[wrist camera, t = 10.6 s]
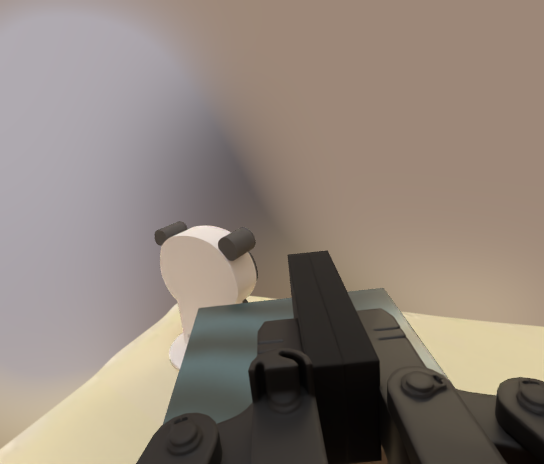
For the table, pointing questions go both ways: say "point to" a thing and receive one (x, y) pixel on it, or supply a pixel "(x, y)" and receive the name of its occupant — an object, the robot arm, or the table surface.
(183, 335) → the panda figurine
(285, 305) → the lid
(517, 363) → the table surface
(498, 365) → the table surface
